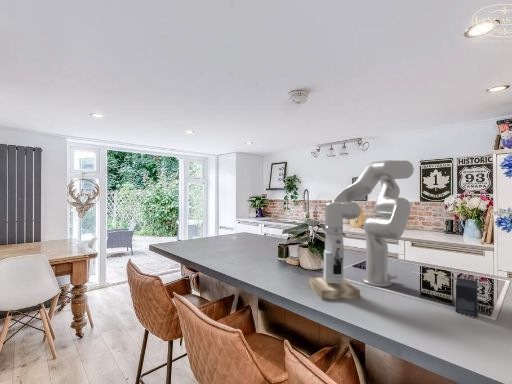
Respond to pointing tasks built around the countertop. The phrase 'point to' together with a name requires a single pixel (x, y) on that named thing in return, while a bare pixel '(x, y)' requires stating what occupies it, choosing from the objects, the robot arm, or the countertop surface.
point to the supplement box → (331, 269)
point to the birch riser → (334, 289)
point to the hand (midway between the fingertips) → (333, 270)
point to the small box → (466, 297)
